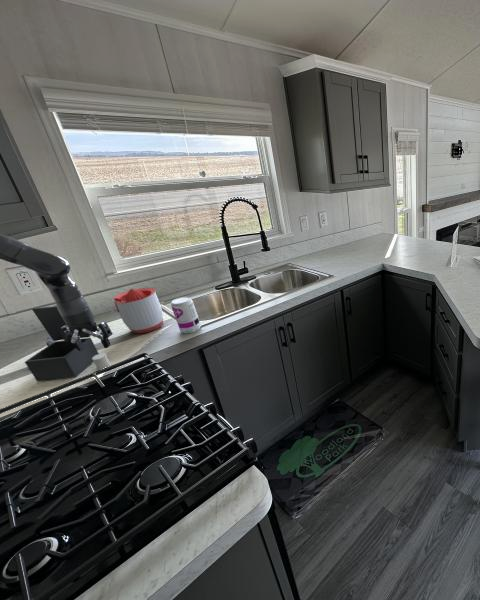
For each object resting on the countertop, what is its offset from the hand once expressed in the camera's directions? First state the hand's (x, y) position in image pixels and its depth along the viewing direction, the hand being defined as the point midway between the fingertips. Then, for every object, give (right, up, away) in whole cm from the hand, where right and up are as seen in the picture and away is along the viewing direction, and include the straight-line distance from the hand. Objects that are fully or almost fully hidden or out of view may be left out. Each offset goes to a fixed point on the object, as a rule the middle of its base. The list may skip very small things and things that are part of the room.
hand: (95, 348), depth 122 cm
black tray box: (-13, -8, +4) cm, 15 cm away
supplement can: (+18, +4, +28) cm, 34 cm away
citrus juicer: (-5, +5, +30) cm, 31 cm away
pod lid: (-14, +9, +2) cm, 17 cm away
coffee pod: (0, -8, +3) cm, 8 cm away
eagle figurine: (-25, -3, +10) cm, 27 cm away
